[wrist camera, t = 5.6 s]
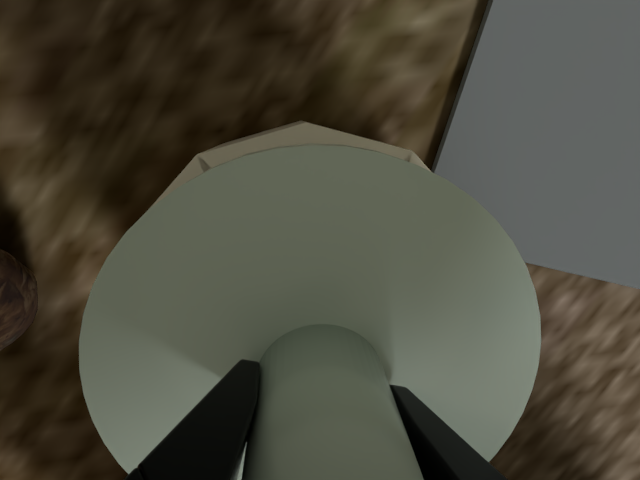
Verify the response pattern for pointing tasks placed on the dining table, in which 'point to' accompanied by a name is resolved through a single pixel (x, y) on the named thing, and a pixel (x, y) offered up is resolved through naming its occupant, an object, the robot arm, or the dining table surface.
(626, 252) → the mat
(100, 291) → the lid
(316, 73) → the dining table surface
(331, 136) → the bowl
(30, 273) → the mushroom
